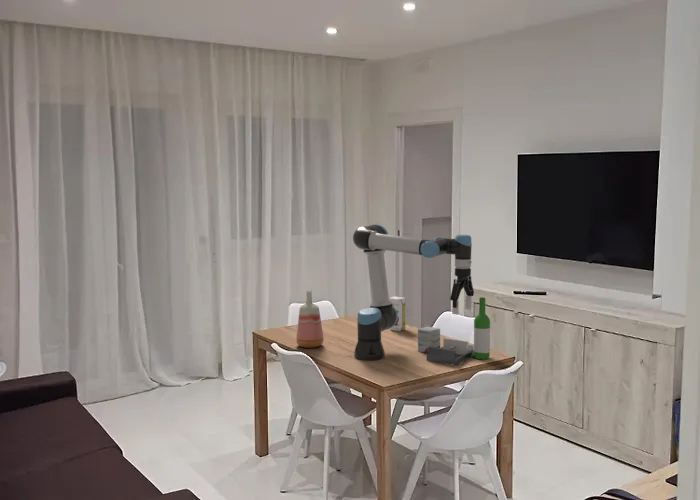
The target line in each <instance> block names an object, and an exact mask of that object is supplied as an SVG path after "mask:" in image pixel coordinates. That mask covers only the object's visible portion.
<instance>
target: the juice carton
mask: <svg viewBox="0 0 700 500" xmlns="http://www.w3.org/2000/svg"><path fill="white" fill-rule="evenodd" d="M389 300H390V301H391V302H392V304H393V307H394V309H396V311H397V314H398V319H397V322H396V324H395V325H394V326H392V327H391V328H390V329H389V330H390V331H394V332H402V331H404V330H405V329H406V325H407V323H406V321H407V320H406V318H407V316H406V314H407V311H406V309H407V308H406V303H407V302H406V297H405V296H404V297H402V296H401V297H400V296H397V295H394V296H391V297H389Z"/></svg>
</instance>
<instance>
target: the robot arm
mask: <svg viewBox="0 0 700 500" xmlns="http://www.w3.org/2000/svg"><path fill="white" fill-rule="evenodd" d="M352 240H353V244H354V246H356V247H357V248H358V249H360V250H363V253H364V254H365V255H366V256H367V266H368V276H369V284H370V292H371V303H370V305H369V307H367V308H365V307H364V308H363V309H360V310H359V311H358V313H357V316H356V317H357V318H356V321H357V343H356V345H355V349H354V352H353V353H354V358H355V359H359V360H364V361H376V360H381V359H384V358H385V355H386V354H385V352H386V351H385V349H384V346H383V343H382V332H383V331H386V330H390V328H391V327H392V326H394V325H395V324H396V322H397V319H398V314H397V311H396V309H394V307H393V304H392V302H391V301H390V297H389V287H388V280H387V271H386V270H387V269H386V262H385V252H386V251H389V252H397V253H402V254H404V253H405V254H411V255H419V256H423V257H424V258H429V259H430V258H431V259H433V258H435V257H439V256H442V255H454V267H455V268H454V276H455V277H457V279H455V278H454V279H453V285H452V290H451V293H450V298H449V300H450V301H452V315H456V316H458V315H459V300H458V299H460V298H459V297H460V295H461V292H462V289H464V293H465V294H466V295H465V307H464V308H465V310H469V311H470V310H472V297H473V296H475V291H474V287H473V282H472V269H471V267H472V247H473V246H472V245H473V244H472V237H471V235H468V234H456V235H455V238H447V237H434V238H432V239H431V240H430V239H424V238H423V239H422V238H417V237H416V238H415V237H409V236H402V235H393V234H389V232H388V230H387V229H386V227H384V226H383V225H381V224H370V225H363V226H360V227H358V228H357V229H356V230H354V233H353V235H352Z"/></svg>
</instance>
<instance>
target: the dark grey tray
mask: <svg viewBox="0 0 700 500" xmlns="http://www.w3.org/2000/svg"><path fill="white" fill-rule="evenodd" d="M471 358H474V344H468V353H466V354H464V355H460V354H456V351H455V350H448V349H443V346H440V348H436V347H430V346H429V347H428V353H426V361H428V360H429V361H428V362H435V363H440V362H441V364H445V363H447V365H451V364H453V365H452V366H458V365H460V364H462V363H463V361H464V362H465V361H467V360H469V359H471ZM461 362H462V363H461ZM459 363H460V364H459Z"/></svg>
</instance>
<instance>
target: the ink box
mask: <svg viewBox="0 0 700 500" xmlns="http://www.w3.org/2000/svg"><path fill="white" fill-rule="evenodd" d="M429 346H430V347H436V348H441V328H438V327H432V326H428V325H427V326H424V327H420V328H417V352H419V353H420V352H421V353H426V354H428V347H429Z"/></svg>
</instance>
